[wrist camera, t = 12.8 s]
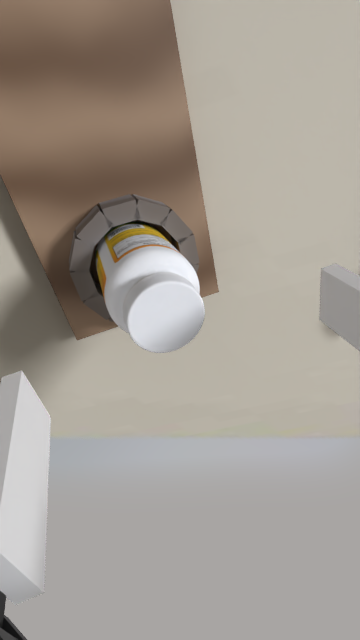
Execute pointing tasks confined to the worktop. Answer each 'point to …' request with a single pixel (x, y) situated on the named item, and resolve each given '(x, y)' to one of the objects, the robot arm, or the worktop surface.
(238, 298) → the worktop surface
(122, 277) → the supplement bottle
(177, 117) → the board
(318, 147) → the worktop surface
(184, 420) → the worktop surface
